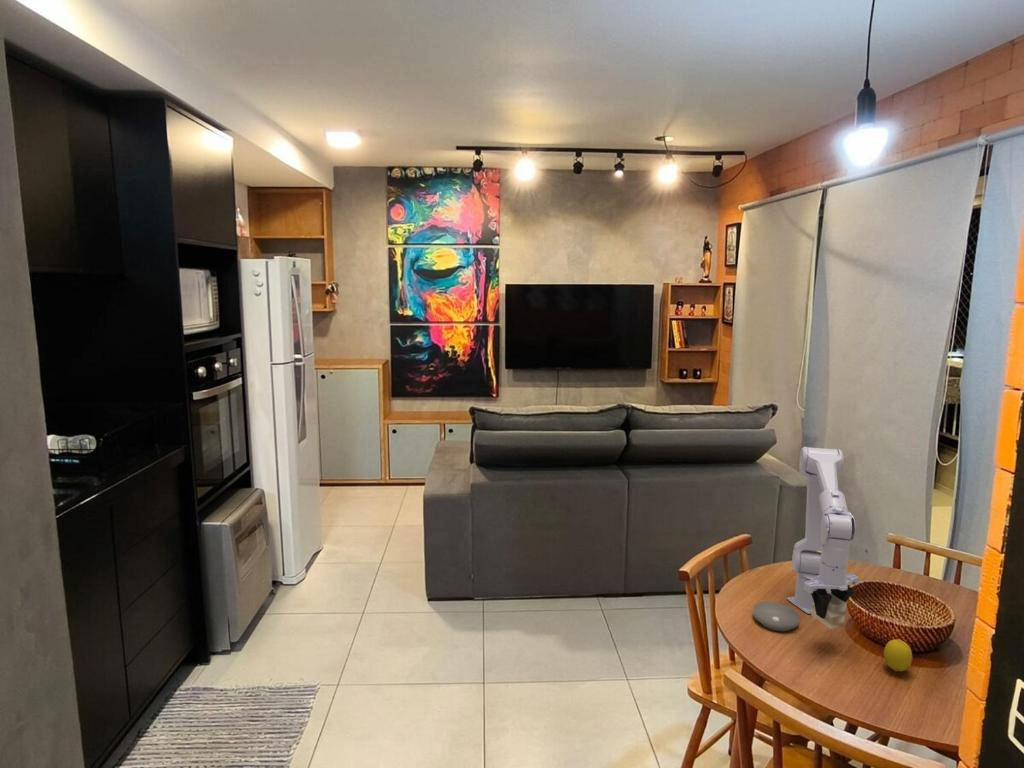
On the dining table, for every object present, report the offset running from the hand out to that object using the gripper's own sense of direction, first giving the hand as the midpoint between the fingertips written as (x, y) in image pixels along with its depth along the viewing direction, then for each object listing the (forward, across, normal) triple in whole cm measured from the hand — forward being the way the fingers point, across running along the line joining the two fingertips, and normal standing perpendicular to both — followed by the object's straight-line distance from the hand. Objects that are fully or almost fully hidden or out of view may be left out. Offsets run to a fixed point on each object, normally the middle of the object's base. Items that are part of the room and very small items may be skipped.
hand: (827, 614), depth 150 cm
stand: (+9, -4, +13) cm, 16 cm away
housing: (+2, 0, 0) cm, 2 cm away
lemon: (+9, +9, -12) cm, 18 cm away
